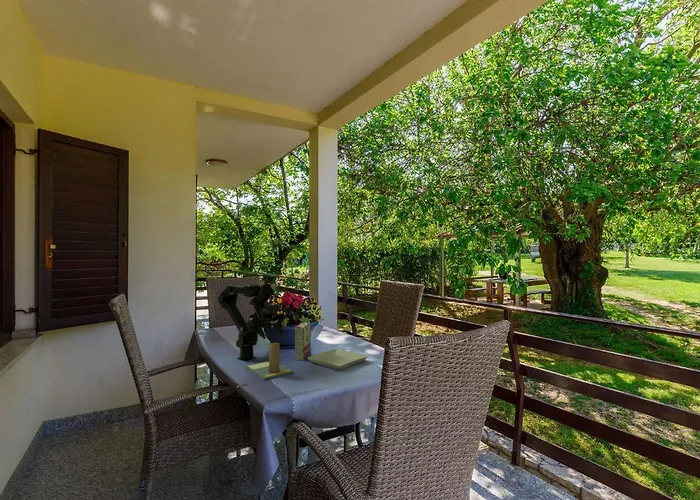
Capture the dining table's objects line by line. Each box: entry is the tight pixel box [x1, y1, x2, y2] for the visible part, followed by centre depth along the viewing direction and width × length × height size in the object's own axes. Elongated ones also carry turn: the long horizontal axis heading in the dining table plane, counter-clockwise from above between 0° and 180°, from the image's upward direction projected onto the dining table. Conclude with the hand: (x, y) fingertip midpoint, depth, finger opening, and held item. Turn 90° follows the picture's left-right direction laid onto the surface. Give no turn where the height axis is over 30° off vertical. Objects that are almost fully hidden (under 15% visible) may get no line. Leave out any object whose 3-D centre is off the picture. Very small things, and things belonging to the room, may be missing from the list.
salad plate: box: [307, 348, 368, 370], centre depth 182 cm, size 21×21×3 cm
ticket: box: [244, 360, 286, 377], centre depth 173 cm, size 12×14×1 cm
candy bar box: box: [294, 322, 312, 362], centre depth 190 cm, size 11×5×16 cm, turn 168°
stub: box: [256, 342, 294, 381], centre depth 165 cm, size 7×14×13 cm, turn 129°
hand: (273, 336), depth 173 cm, fingers open, 9 cm apart
